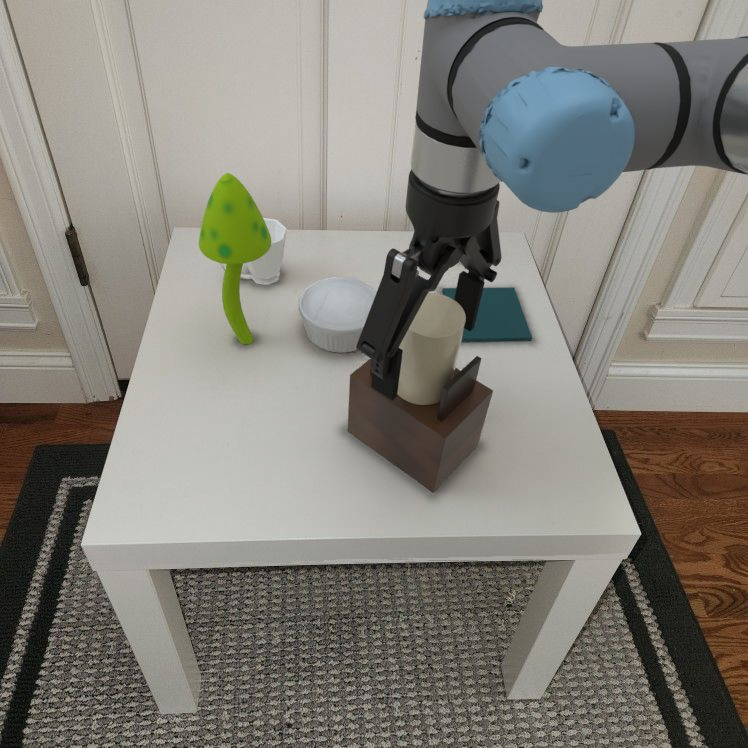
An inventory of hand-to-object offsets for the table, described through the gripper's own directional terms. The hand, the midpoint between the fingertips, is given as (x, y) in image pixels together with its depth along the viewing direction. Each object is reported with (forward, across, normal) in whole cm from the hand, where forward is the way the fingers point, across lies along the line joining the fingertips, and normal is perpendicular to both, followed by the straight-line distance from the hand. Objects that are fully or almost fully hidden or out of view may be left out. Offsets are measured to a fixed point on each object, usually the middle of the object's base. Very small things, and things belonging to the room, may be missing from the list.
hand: (425, 356), depth 69 cm
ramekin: (+14, -8, -19) cm, 25 cm away
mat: (+14, -25, -6) cm, 29 cm away
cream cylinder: (+4, 0, 0) cm, 4 cm away
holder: (+14, 0, 0) cm, 14 cm away
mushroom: (+14, +2, -27) cm, 30 cm away
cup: (+14, -8, -36) cm, 39 cm away
